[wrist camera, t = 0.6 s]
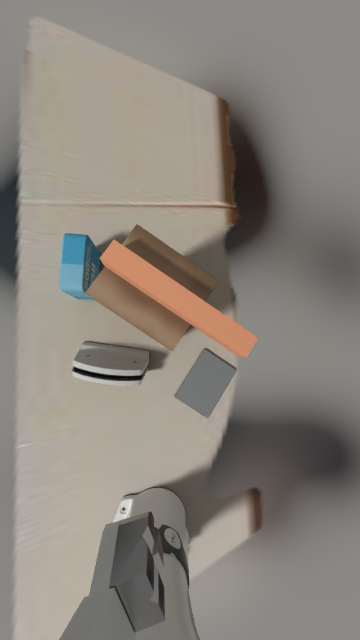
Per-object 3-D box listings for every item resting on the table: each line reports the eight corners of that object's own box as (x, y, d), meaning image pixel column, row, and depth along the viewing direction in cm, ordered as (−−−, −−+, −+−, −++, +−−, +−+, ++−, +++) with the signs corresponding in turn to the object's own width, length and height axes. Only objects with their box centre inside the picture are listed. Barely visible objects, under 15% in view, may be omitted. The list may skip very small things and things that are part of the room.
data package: (98, 301, 54) (82, 290, 43) (79, 300, 54) (57, 289, 42) (101, 254, 56) (86, 232, 44) (82, 253, 55) (63, 230, 43)
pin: (237, 355, 30) (246, 357, 28) (105, 266, 29) (99, 258, 27) (248, 338, 31) (258, 337, 28) (118, 249, 30) (114, 239, 27)
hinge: (151, 351, 55) (147, 369, 45) (148, 368, 56) (144, 389, 46) (82, 341, 53) (64, 358, 43) (81, 358, 54) (62, 379, 45)
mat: (206, 417, 55) (207, 418, 54) (174, 395, 54) (174, 396, 54) (235, 369, 57) (236, 370, 56) (203, 348, 56) (204, 348, 56)
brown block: (164, 345, 55) (172, 351, 30) (117, 314, 55) (84, 293, 29) (189, 307, 57) (218, 280, 31) (145, 276, 56) (136, 224, 31)
